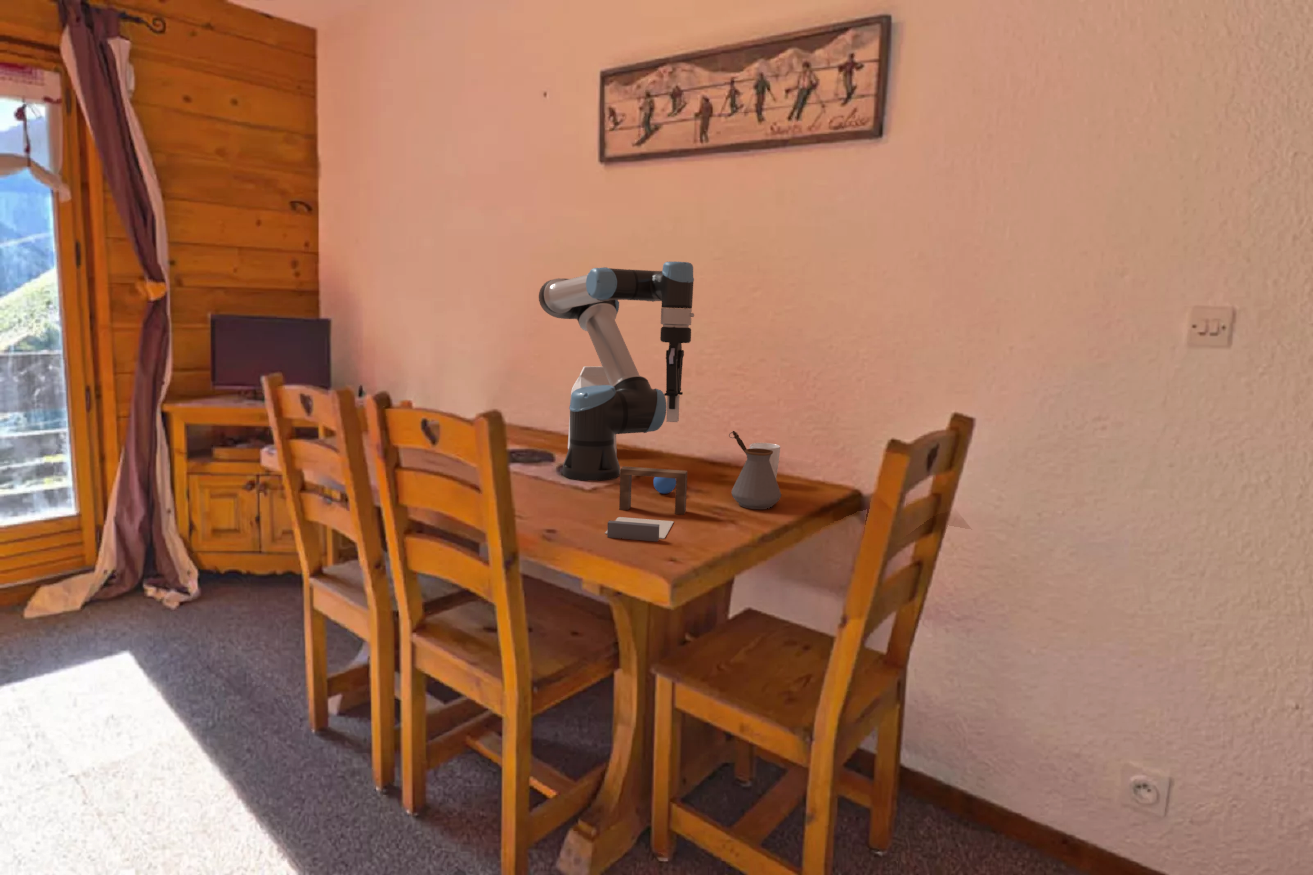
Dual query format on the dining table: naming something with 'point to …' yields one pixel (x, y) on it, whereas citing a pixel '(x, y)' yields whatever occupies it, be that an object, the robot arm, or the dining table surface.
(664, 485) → the ball
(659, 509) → the dining table surface
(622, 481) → the bridge
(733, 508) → the dining table surface
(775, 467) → the white cup
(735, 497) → the coffee pot
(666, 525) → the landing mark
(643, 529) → the stopper wall
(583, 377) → the milk
